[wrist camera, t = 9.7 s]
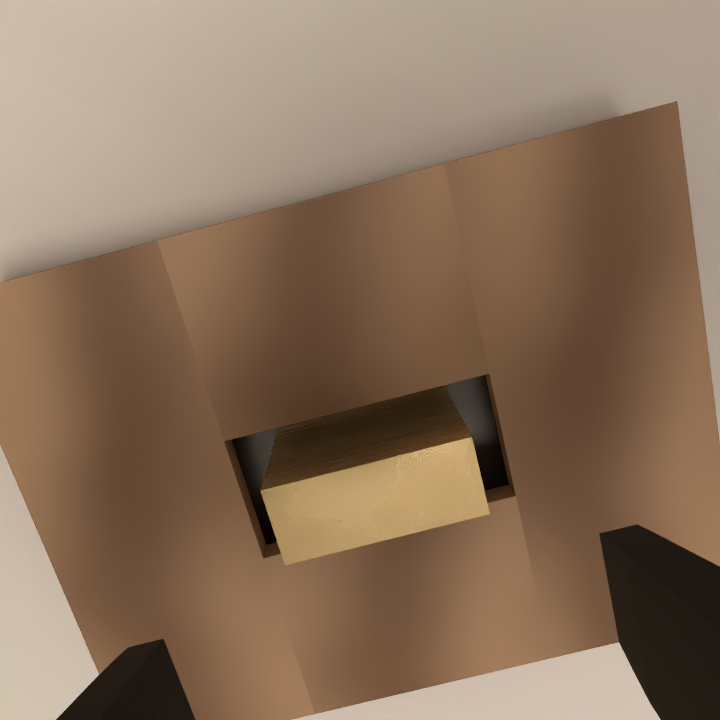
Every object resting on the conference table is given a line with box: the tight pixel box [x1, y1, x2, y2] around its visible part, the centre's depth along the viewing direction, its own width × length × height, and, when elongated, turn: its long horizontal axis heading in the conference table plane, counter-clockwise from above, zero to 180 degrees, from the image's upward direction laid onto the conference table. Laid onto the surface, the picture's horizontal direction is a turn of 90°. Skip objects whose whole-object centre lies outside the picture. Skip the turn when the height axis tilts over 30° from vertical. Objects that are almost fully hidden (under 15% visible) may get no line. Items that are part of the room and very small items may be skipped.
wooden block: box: [260, 385, 490, 565], centre depth 17 cm, size 5×2×5 cm, turn 105°
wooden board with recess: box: [0, 101, 720, 720], centre depth 18 cm, size 18×14×3 cm
